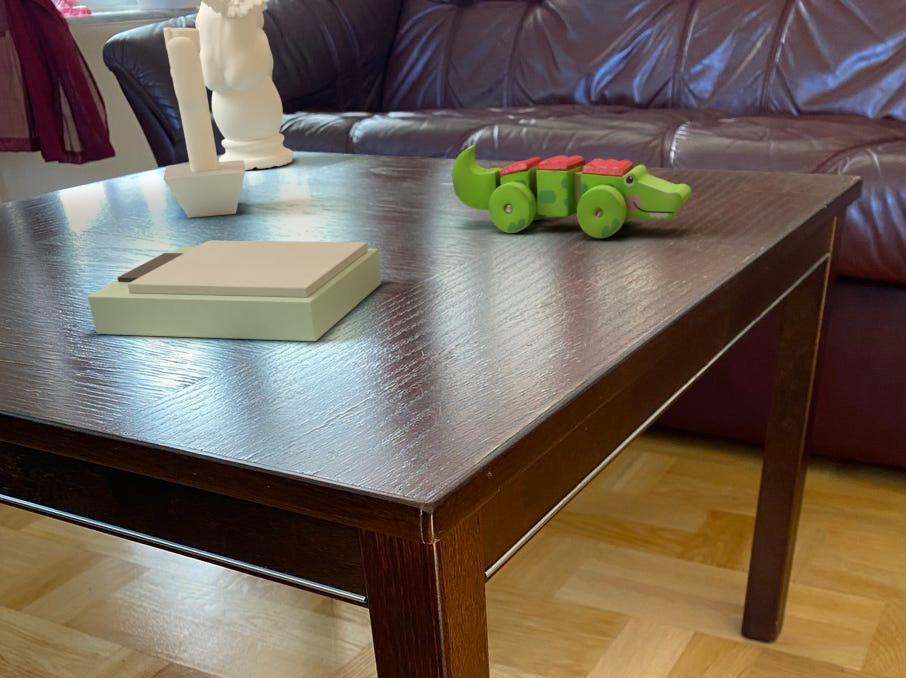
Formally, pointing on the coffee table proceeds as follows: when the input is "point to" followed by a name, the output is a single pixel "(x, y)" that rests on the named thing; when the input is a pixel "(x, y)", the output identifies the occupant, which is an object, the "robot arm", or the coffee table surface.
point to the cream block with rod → (198, 136)
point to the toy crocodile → (566, 192)
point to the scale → (240, 291)
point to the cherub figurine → (242, 82)
